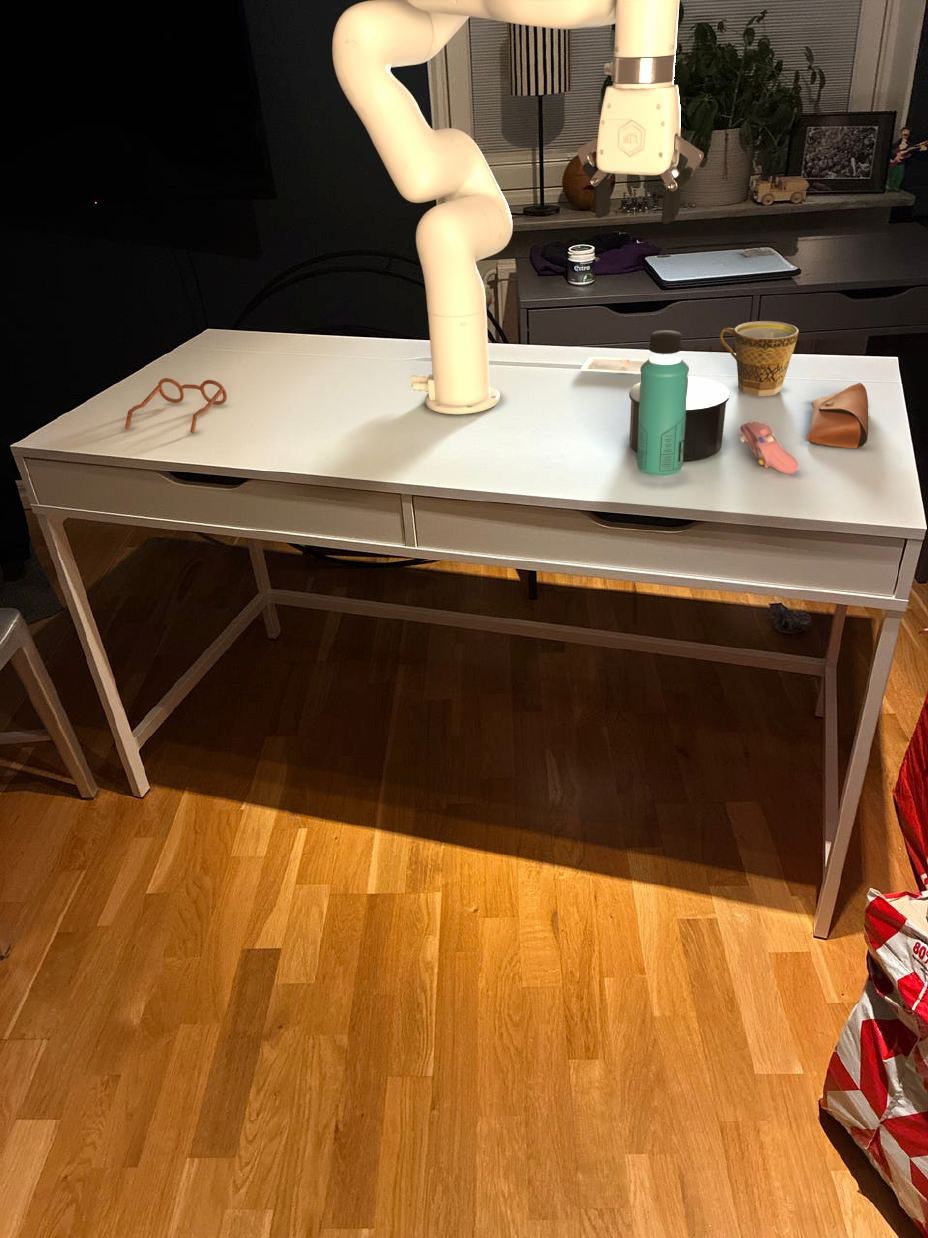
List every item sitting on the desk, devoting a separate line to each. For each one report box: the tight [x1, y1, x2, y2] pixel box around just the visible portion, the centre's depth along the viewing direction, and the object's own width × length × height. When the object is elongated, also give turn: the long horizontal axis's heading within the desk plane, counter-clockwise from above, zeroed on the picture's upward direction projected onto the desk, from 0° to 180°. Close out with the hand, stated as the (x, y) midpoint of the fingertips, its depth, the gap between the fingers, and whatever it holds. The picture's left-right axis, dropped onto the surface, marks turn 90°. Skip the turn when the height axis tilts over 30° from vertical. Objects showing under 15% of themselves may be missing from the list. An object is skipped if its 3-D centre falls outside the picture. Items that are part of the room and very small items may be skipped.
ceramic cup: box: [719, 320, 800, 397], centre depth 155 cm, size 13×10×10 cm
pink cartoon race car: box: [739, 418, 799, 475], centre depth 131 cm, size 10×5×7 cm, turn 5°
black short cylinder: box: [629, 400, 727, 463], centre depth 138 cm, size 13×13×8 cm
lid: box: [628, 374, 731, 413], centre depth 135 cm, size 14×14×4 cm
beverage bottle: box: [635, 329, 690, 477], centre depth 125 cm, size 6×7×20 cm
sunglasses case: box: [806, 382, 869, 450], centre depth 142 cm, size 18×7×7 cm
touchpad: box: [579, 356, 648, 375], centre depth 168 cm, size 8×15×2 cm, turn 70°
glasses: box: [124, 377, 228, 434], centre depth 160 cm, size 13×13×5 cm
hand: (634, 218), depth 127 cm, fingers open, 9 cm apart
